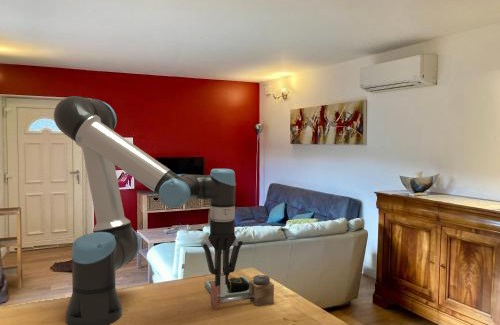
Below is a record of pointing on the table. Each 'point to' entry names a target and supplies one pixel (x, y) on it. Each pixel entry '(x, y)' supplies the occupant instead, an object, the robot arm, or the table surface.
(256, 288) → the pulley block
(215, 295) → the lock pin
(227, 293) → the tray
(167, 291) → the table surface
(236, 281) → the tape measure
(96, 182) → the robot arm
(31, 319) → the table surface
